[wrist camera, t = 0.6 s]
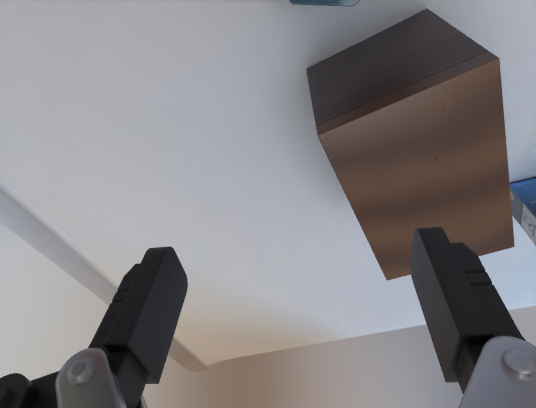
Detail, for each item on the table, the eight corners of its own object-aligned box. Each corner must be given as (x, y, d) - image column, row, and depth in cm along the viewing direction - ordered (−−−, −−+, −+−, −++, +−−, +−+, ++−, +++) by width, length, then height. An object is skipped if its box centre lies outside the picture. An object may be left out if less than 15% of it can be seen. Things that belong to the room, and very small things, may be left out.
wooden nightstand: (306, 69, 29) (317, 135, 21) (427, 8, 26) (499, 57, 18) (362, 198, 38) (386, 280, 30) (457, 164, 35) (514, 247, 27)
